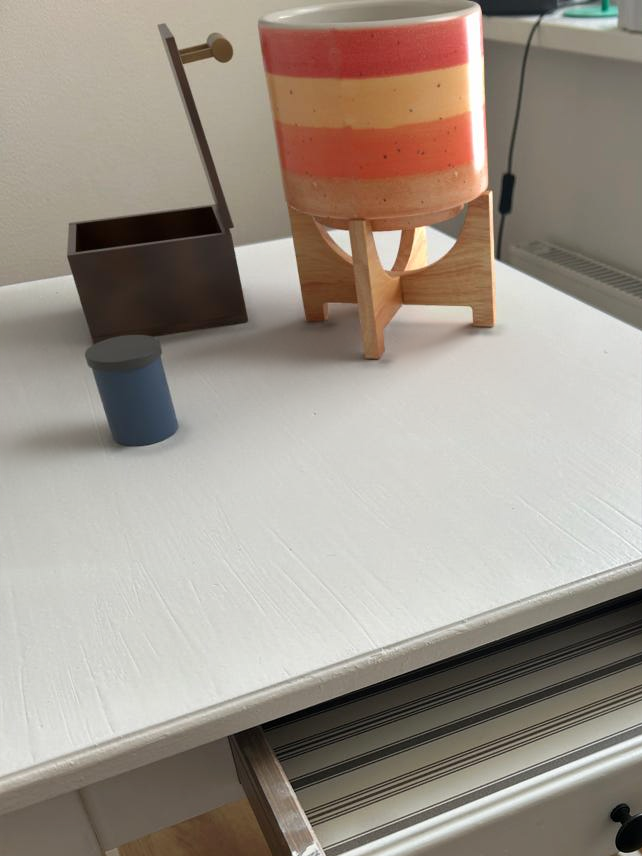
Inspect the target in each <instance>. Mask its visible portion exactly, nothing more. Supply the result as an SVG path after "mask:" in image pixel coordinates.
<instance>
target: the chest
mask: <svg viewBox="0 0 642 856" xmlns="http://www.w3.org/2000/svg"><path fill="white" fill-rule="evenodd" d="M67 229H68V231H67V248H66V249H67V251H66V259H67V261H68V265H69V268H70V272H71V275H72V278H73V281H74V284H75V288H76V291H77V295H78V298H79V301H80V304H81V308H82V312H83V315H84V318H85V321H86V324H87V328H88V332H89V334H90V335H89V336H90V338H91V342H92V345H94V344H96V343H98V342H101V341H103V340H106V339H110V338H114V337H119V336H126V335H147V336H151V337H156V336H163V335H164V336H165V335H170V334H171V335H172V334H176V333H184V332H189V331H197V330H202V329H208V328H215V327H222V326H229V325H235V324H241V323H247V322H249V317H248V310H247V307H246V302H245V296H244V291H243V285H242V281H241V275H240V270H239V265H238V260H237V255H236V250H235V246H234V239H233V234H232V232H231V229H226V227H225V225H224V223H223V220H222V218H221V216H220V213H219V211H218V209H217V206H216V204H215V203H213V204H206V205H198V206H189V207H182V208H181V207H180V208H175V209H174V208H173V209H167V210H159V211H151V212H143V213H136V214H135V213H134V214H128V215H118V216H112V217H105V218H97V219H88V220H82V221H81V220H80V221H73V222H68V228H67Z"/></svg>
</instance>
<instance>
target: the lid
mask: <svg viewBox="0 0 642 856" xmlns="http://www.w3.org/2000/svg"><path fill="white" fill-rule="evenodd" d="M157 29H158V32H159V35H160V37H161V41H162V44H163V48H164V51H165V53H166V57H167V60H168V63H169V66H170V69H171V73H172V76H173V78H174V81H175V85H176V88H177V91H178V94H179V97H180V100H181V104H182V107H183V110H184V112H185V116H186V118H187V121H188V125H189V127H190V131H191V134H192V137H193V140H194V143H195V146H196V150H197V153H198V156H199V159H200V161H201V165H202V169H203V171H204V174H205V177H206V181H207V183H208V186H209V189H210V190H209V191H210V193H211V197H212V199H213V201H214V204H216V206H217V209H218V211H219V213H220V216H221V218H222V220H223V223H224V225H225V227H226V229H229V230H231V229H233V228H235V225H234V222H233V219H232V216H231V212H230V210H229V206H228V202H227V200H226V196H225V193H224V190H223V187H222V184H221V181H220V177H219V174H218V171H217V168H216V165H215V161H214V159H213V155H212V152H211V149H210V146H209V143H208V140H207V137H206V133H205V130H204V126H203V124H202V120H201V117H200V114H199V111H198V108H197V104H196V102H195V98H194V95H193V92H192V89H191V85H190V83H189V80H188V77H187V73H186V70H185V67H184V65H187V64H190V63H195V62H199V61H203V60H207V59H210V58H211V59H212V58H214V60H216V61H217V62H219V63H221V64H225V63H229V62H230V61H231V60H233V59H232V58H233V57H234V47H233V44H232V43H231V42H230V40H228V39H227V38H226V37H225V36H224V35H223V34H222V33H220V32H212V33H210V34H209V35H208V36H207V38H206V42H205V43H200V44H196V45H192V46H189V47H183V48H180V49H179V48H178V44H177V42H176V39H175V36H174V35H173V33H172V32H171V30H170V28H169V27H168V26H167V24H166V22H165V23H160V24H157Z"/></svg>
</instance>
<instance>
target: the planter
mask: <svg viewBox="0 0 642 856" xmlns="http://www.w3.org/2000/svg"><path fill="white" fill-rule="evenodd" d="M257 30H258V37H259V44H260V51H261V57H262V58H261V59H262V66H263V71H264V76H265V82H266V87H267V88H266V89H267V93H268V100H269V105H270V106H269V107H270V111H271V119H272V124H273V130H274V131H273V132H274V138H275V143H276V150H277V151H276V152H277V157H278V165H279V171H280V176H281V182H282V189H283V194H284V195H283V196H284V200H285V202H286V206H287V212H288V217H289V223H290V230H291V235H292V243H293V248H294V255H295V262H296V267H297V273H298V280H299V287H300V293H301V299H302V306H303V311H304V317H305V322H315V323H316V322H318V323H324V322H326V321H327V320H328V319H329V318H330V310H329V304H356V305H357V306H358V307H357V308H358V315H359V323H360V331H361V337H362V338H361V340H362V346H363V355H364V359H374V360H375V359H376V360H380V359H381V358H382V356H383V355H384V353H385V352H386V345H385V335H384V331H385V329H386V328H387V326H388V325H389V324H390V322H391V321H392V320H393V318H394V317H395V316H396V314H397V313H398V312H399V310H400V309H401V308H402V306H438V307H439V306H440V307H470V308H471V310H472V325H473V327H490V328H491V327H492V328H493V327H495V325H496V323H497V297H496V295H497V294H496V268H495V265H496V264H495V241H494V239H495V237H494V214H493V213H494V211H493V210H494V209H493V207H494V206H493V205H494V203H493V191H492V190H491V189H490V190H487V189H488V187H489V161H488V159H489V158H488V137H487V136H488V135H487V117H486V91H485V89H486V88H485V51H484V32H483V31H484V29H483V13H482V8H481V5H480V4H479V3H477V2H475V1H473V0H351V1H339V2H330V3H329V2H328V3H320V4H313V5H312V4H311V5H304V6H297V7H291V8H285V9H281V10H276V11H272V12H269V13H266V14H263V15H261V16H260V17H259V18H258V20H257ZM465 204H468V205H467V208H466V209H467V210H466V214H465V219H464V222H463V224H462V228H461V231H460V233H459V234H458V237H457V238H456V241H455V243H454V244H453V245H452V247H451V248H450V249H449V250H448V252H446V253H445V254H444V255H443V256H442V257H440V258H438V260H436V261H434V262H432V263H431V264H429V255H428V242H427V241H428V240H427V231H426V230H427V229H426V227H428V226H431V225H435V224H439V223H443V222H446V221H448V220H450V219H451V218H454V217H455V216H457V215H459V214H460V213H461V212H462V211H463V209H464V207H465ZM325 227H327V228H330V229H335V230H340V231H346V232H348V234H349V235H348V236H349V242H350V243H349V244H350V250H351V255H350V254H349V253H347V252H346V251H345V250H344V249H343V248H341V246H339V244H338V243H337V242H335V240H334V239H333V238H332V236H331V235H330V234H329V232H328V231H327V229H326V228H325ZM396 231H401V232H400V239H399V244H398V251H397V254H396V258H395V260H394V263H393V265H392V267H391V268H390V270H386V269H384V266H383V265H382V262H381V259H380V257H379V253H378V249H377V247H376V242H375V237H374V233H382V232H396Z"/></svg>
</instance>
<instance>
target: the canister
mask: <svg viewBox="0 0 642 856" xmlns="http://www.w3.org/2000/svg"><path fill="white" fill-rule="evenodd" d="M162 353H163V350H162V346H161V342H160V340H159V339H158V338H156V337H155V336H147V335H126V336H119V337H114V338H110V339H106V340H103V341H101V342H98V343H96V344H94V345H93V344H92V345H91V346H89V347H88V348H87V349H86V350H85V352H84V358H85V361H86V364H87V366H88V367H89V368H90V369H91V371H92V374H93V378H94V381H95V384H96V388H97V391H98V394H99V397H100V400H101V404H102V407H103V411H104V414H105V417H106V420H107V424H108V428H109V429H110V434H111V437H112V439H113V441H114V442H115V443H117V444H118V445H122V446H128V447H139V446H147V445H152V444H156V443H159V442H162V441H164V440H167V439H169V438H170V437H172V436H173V435H174V434H176V433H177V431H178V429H179V422H178V418H177V414H176V410H175V407H174V403H173V398H172V395H171V391H170V387H169V383H168V379H167V376H166V372H165V368H164V364H163V360H162Z"/></svg>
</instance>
